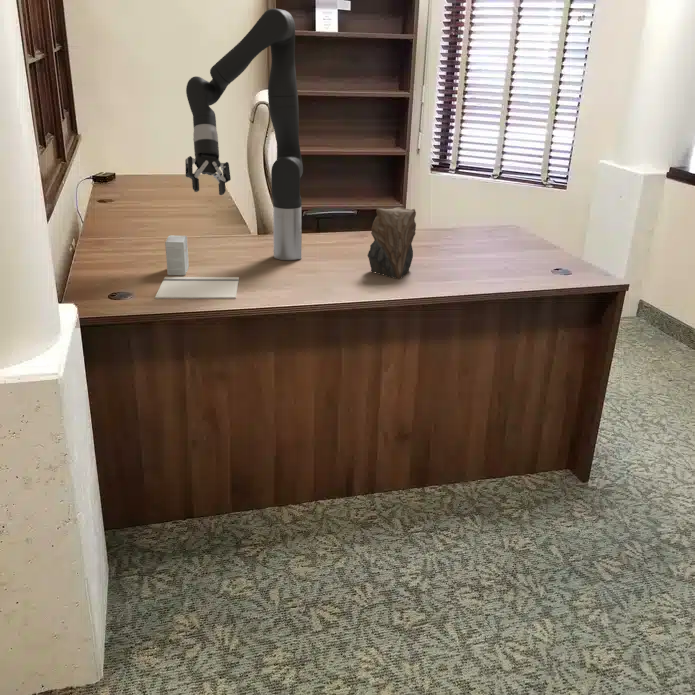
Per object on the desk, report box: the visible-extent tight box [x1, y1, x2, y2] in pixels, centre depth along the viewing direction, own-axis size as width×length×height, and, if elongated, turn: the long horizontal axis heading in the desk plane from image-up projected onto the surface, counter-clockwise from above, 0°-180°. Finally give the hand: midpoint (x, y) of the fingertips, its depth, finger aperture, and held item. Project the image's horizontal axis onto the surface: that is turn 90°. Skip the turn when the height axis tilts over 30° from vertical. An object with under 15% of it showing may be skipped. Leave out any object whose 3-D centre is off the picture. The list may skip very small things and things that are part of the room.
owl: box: [367, 206, 417, 280], centre depth 217 cm, size 13×13×20 cm
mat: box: [154, 276, 240, 300], centre depth 198 cm, size 22×18×1 cm
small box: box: [164, 234, 190, 276], centre depth 210 cm, size 8×6×10 cm
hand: (209, 192), depth 214 cm, fingers open, 8 cm apart
